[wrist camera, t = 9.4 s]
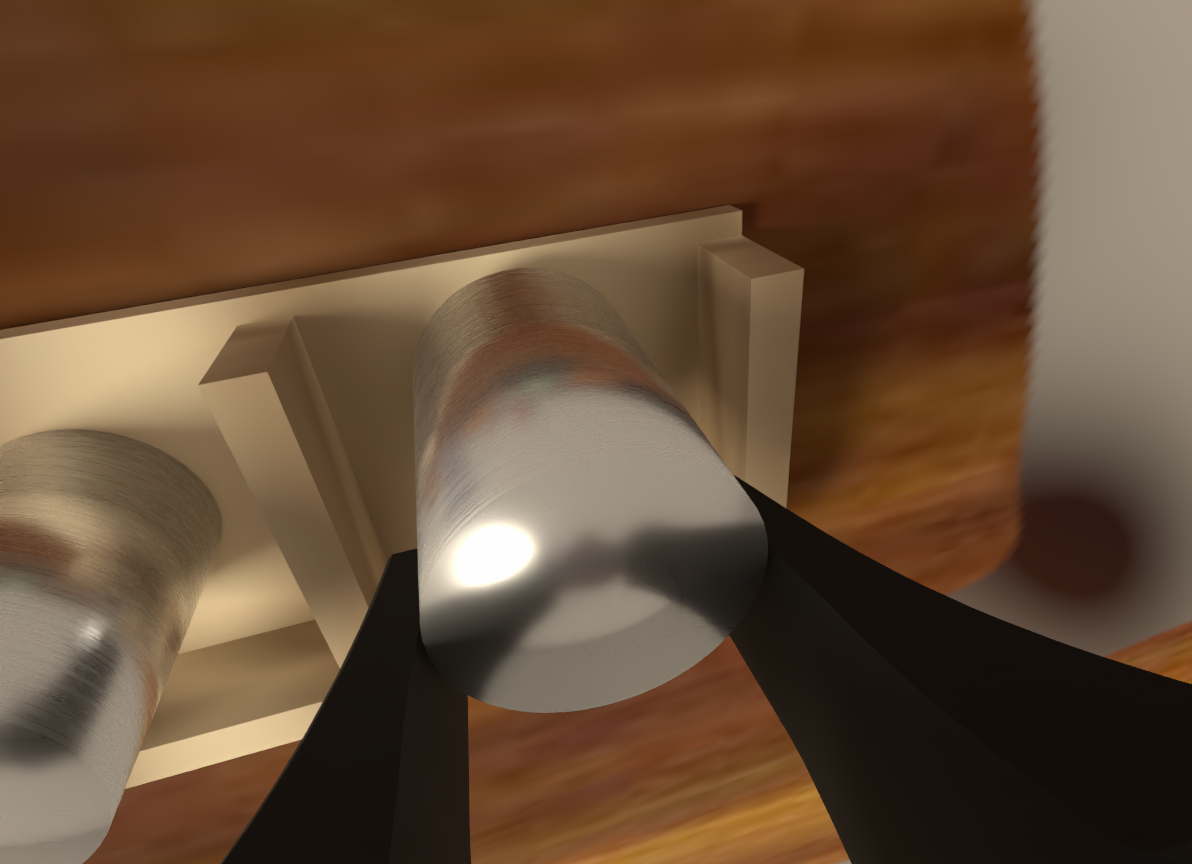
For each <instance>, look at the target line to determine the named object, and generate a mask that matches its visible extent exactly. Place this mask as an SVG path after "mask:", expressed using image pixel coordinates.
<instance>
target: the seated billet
mask: <svg viewBox="0 0 1192 864" xmlns="http://www.w3.org/2000/svg"><path fill="white" fill-rule="evenodd" d="M222 535H223V524H222V517H221V513H220V509H219V507H218V505H217V503H216V500H215V498H214V497H213V495H212V493H211V492H210V490H209V489H208V487H207V486H206V485H205V484H204V483H203V482H202V480H201V479H200V478H199V477H198V476H197V475H196V474H195V473H194V472H193V471H191V470H190V469H189V468H188V467H187V466H185V465H184V464H183V463H181V462H180V461H178V460H177V459H176V458H174V457H172V456H170V455H169V454H167V453H165V452H163V451H162V450H160V449H157V448H155V447H153V446H151V445H148V444H146V443H144V442H141V441H138V440H135V439H132V438H129V437H125V436H121V435H117V434H113V433H107V432H100V431H94V430H78V429H68V430H52V431H45V432H38V433H34V434H30V435H26V436H22V437H19V438H17V439H14V440H12V441H9V442H6V443H5V444H3V445H1V446H0V864H82V863H83V862H85V861H86V860H87V859H88V858H89V857H90V856H91V855H92V854H93V853H94V852H95V851H96V850H97V848H98V847H99V846H100V845H101V843H102V841H103V840H104V838H105V836H106V834H107V832H108V830H109V828H110V825H111V822H112V820H113V817H114V815H115V812H116V810H117V807H118V805H119V802H120V800H121V797H122V795H123V792H124V790H125V787H126V784H127V782H128V779H129V777H130V774H131V772H132V769H133V767H134V764H135V762H136V759H137V757H138V754H139V752H140V749H141V746H142V744H143V741H144V739H145V736H146V734H147V731H148V729H149V726H150V724H151V721H152V719H153V716H154V713H155V711H156V708H157V706H158V703H159V701H160V698H161V696H162V693H163V691H164V688H165V686H166V683H167V681H168V678H169V675H170V673H171V670H172V668H173V665H174V663H175V660H176V658H177V655H178V653H179V650H180V648H181V645H182V643H183V640H184V637H185V635H186V632H187V630H188V627H189V625H190V622H191V620H192V617H193V615H194V612H195V610H196V607H197V605H198V602H199V599H200V597H201V594H202V592H203V589H204V587H205V584H206V582H207V579H208V577H209V574H210V572H211V569H212V567H213V564H214V561H215V559H216V556H217V554H218V551H219V548H220V545H221V542H222Z"/></svg>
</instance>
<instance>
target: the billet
mask: <svg viewBox="0 0 1192 864" xmlns="http://www.w3.org/2000/svg"><path fill="white" fill-rule="evenodd" d="M412 377H413V411H414V446H415V480H416V514H417V549H418V583H419V618H420V629H421V636H422V641H423V644H424V647H425V649H426V652H427V655H428V656H429V658H430V660H431V661H432V663H433V664H434V666H435V668H436V669H437V670H438V671H439V672H440V673H441V675H442V676H443V677H444V678H445V679H446V680H447V681H448V682H450V683H451V684H452V685H454V686H455V687H456V688H457V689H459V690H460V691H462V692H464V693H466V694H467V695H469V696H471V697H473V698H475V699H477V700H480V701H483V702H485V703H488V704H490V705H494V706H498V707H502V708H506V709H511V710H518V711H525V712H541V713H551V712H569V711H577V710H585V709H590V708H595V707H600V706H604V705H608V704H611V703H615V702H619V701H622V700H625V699H628V698H631V697H633V696H636V695H639V694H642V693H644V692H646V691H648V690H651V689H653V688H655V687H657V686H660V685H662V684H663V683H665V682H667V681H669V680H671V679H673V678H675V677H676V676H678V675H680V674H681V673H683V672H684V671H686V670H688V669H689V668H691V667H692V666H694V665H695V664H696V663H698V662H699V661H700V660H702V659H703V658H704V657H706V656H707V655H708V654H710V653H711V652H712V651H713V650H714V649H715V648H716V647H717V646H718V645H720V644H721V643H722V642H723V641H724V640H725V639H726V638H727V637H728V636H729V634H730V633H731V632H732V631H733V630H734V629H735V628H736V627H737V625H738V624H739V623H740V621H741V620H742V619H743V617H744V616H745V615H746V613H747V612H748V610H749V608H750V607H751V605H752V603H753V602H754V600H755V598H756V596H757V594H758V591H759V589H760V587H761V585H762V582H763V578H764V575H765V571H766V567H767V558H768V540H767V534H766V530H765V526H764V522H763V520H762V518H761V516H760V514H759V511H758V509H757V508H756V506H755V505H754V503H753V502H752V501H751V499H750V498H749V496H748V495H747V494H746V492H745V491H744V489H743V488H742V487H741V485H740V484H739V482H738V481H737V479H736V478H735V477H734V475H733V474H732V472H731V471H730V470H729V468H728V467H727V465H726V464H725V463H724V461H723V460H722V458H721V457H720V456H719V454H718V453H717V451H716V450H715V449H714V447H713V446H712V444H711V443H710V442H709V440H708V439H707V437H706V436H705V435H704V433H703V432H702V430H701V429H700V428H699V426H698V425H697V423H696V422H695V421H694V419H693V418H692V416H691V415H690V414H689V412H688V411H687V409H686V408H685V407H684V405H683V404H682V402H681V401H680V400H679V398H678V397H677V395H676V394H675V392H674V391H673V390H672V388H671V387H670V385H669V384H668V383H667V381H666V380H665V378H664V377H663V376H662V374H661V373H660V371H659V370H658V369H657V367H656V366H655V364H654V363H653V362H652V360H651V359H650V357H649V356H648V355H647V353H646V352H645V350H644V349H643V348H642V346H641V345H640V343H639V342H638V341H637V339H636V338H635V336H634V335H633V334H632V332H631V331H630V329H629V328H628V327H627V325H626V324H625V322H624V321H623V320H622V318H621V317H620V315H619V314H618V313H617V311H616V310H615V308H614V307H613V306H612V304H611V303H610V302H609V301H608V300H607V299H606V298H605V297H604V296H603V295H602V294H601V293H600V292H598V291H597V290H596V289H594V288H593V287H592V286H591V285H589V284H587V283H585V282H583V281H582V280H580V279H578V278H576V277H573V276H570V275H568V274H565V273H562V272H558V271H553V270H549V269H539V268H517V269H511V270H505V271H500V272H497V273H493V274H490V275H487V276H484V277H482V278H480V279H478V280H475V281H473V282H471V283H469V284H468V285H466V286H464V287H463V288H461V289H460V290H458V291H457V292H456V293H454V294H453V295H452V296H451V297H449V298H448V299H447V300H446V301H445V302H444V303H443V304H442V305H441V306H440V307H439V308H438V309H437V310H436V311H435V313H434V314H433V315H432V317H431V318H430V320H429V321H428V322H427V324H426V326H425V328H424V330H423V332H422V334H421V336H420V338H419V341H418V344H417V347H416V350H415V355H414V360H413V376H412Z"/></svg>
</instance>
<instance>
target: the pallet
mask: <svg viewBox="0 0 1192 864" xmlns="http://www.w3.org/2000/svg"><path fill="white" fill-rule="evenodd" d="M517 268H539V269H549V270H553V271H558V272H562V273H565V274H568V275H570V276H573V277H576V278H578V279H580V280H582V281H583V282H585V283H587V284H589V285H591V286H592V287H593V288H594V289H596V290H597V291H598V292H600V293H601V294H602V295H603V296H604V297H605V298H606V299H607V300H608V301H609V302H610V303H611V304H612V306H613V307H614V308H615V310H616V311H617V313H618V314H619V315H620V317H621V318H622V320H623V321H624V322H625V324H626V325H627V327H628V328H629V329H630V331H631V332H632V334H633V335H634V336H635V338H636V339H637V341H638V342H639V343H640V345H641V346H642V348H643V349H644V350H645V352H646V353H647V355H648V356H649V357H650V359H651V360H652V362H653V363H654V364H655V366H656V367H657V369H658V370H659V371H660V373H661V374H662V376H663V377H664V378H665V380H666V381H667V383H668V384H669V385H670V387H671V388H672V390H673V391H674V392H675V394H676V395H677V397H678V398H679V400H680V401H681V402H682V404H683V405H684V407H685V408H686V409H687V411H688V412H689V414H690V415H691V416H692V418H693V419H694V421H695V422H696V423H697V425H698V426H699V428H700V429H701V430H702V432H703V433H704V435H705V436H706V437H707V439H708V440H709V442H710V443H711V444H712V446H713V447H714V449H715V450H716V451H717V453H718V454H719V456H720V457H721V458H722V460H723V461H724V463H725V464H726V465H727V467H728V468H729V470H730V471H731V472H732V474H733V475H735V476H737V477H738V478H740V479H741V480H743V481H744V482H746V483H748V484H749V485H751V486H752V487H754V488H755V489H757V490H758V491H760V492H761V493H763V494H765V495H766V496H768V497H769V498H771V499H772V500H774V501H775V502H777V503H779V504H780V505H782V506H783V507H785V508H786V505H787V491H788V478H789V465H790V452H791V438H792V425H793V412H794V398H795V385H796V372H797V359H798V345H799V332H800V319H801V306H802V292H803V279H804V268H802V267H800V266H798V265H796V264H795V263H793V262H791V261H789V260H787V259H785V258H783V257H781V256H780V255H778V254H776V253H774V252H772V251H770V250H768V249H766V248H765V247H763V246H761V245H759V244H757V243H755V242H753V241H752V240H750V239H748V238H746V237H744V236H742V210H740V209H738V208H736V207H733V206H731V205H726V206H720V207H715V208H709V209H703V210H697V211H691V212H685V213H680V214H674V215H668V216H662V217H656V218H650V219H645V220H639V221H633V222H627V223H621V224H615V225H610V226H604V227H598V228H592V229H586V230H580V231H575V232H569V233H563V234H557V235H551V236H545V237H540V238H534V239H528V240H522V241H516V242H510V243H505V244H499V245H493V246H487V247H481V248H475V249H470V250H464V251H458V252H452V253H446V254H440V255H434V256H429V257H423V258H417V259H411V260H405V261H399V262H394V263H388V264H382V265H376V266H370V267H364V268H359V269H353V270H347V271H341V272H335V273H329V274H324V275H318V276H312V277H306V278H300V279H294V280H289V281H283V282H277V283H271V284H265V285H259V286H254V287H248V288H242V289H236V290H230V291H224V292H219V293H213V294H207V295H201V296H195V297H189V298H184V299H178V300H172V301H166V302H160V303H154V304H149V305H143V306H137V307H131V308H125V309H119V310H114V311H108V312H102V313H96V314H90V315H84V316H79V317H73V318H67V319H61V320H55V321H49V322H44V323H38V324H32V325H26V326H20V327H14V328H9V329H3V330H0V446H1V445H3V444H5V443H6V442H9V441H12V440H14V439H17V438H19V437H22V436H26V435H30V434H34V433H38V432H45V431H52V430H68V429H78V430H94V431H100V432H107V433H113V434H117V435H121V436H125V437H129V438H132V439H135V440H138V441H141V442H144V443H146V444H148V445H151V446H153V447H155V448H157V449H160V450H162V451H163V452H165V453H167V454H169V455H170V456H172V457H174V458H176V459H177V460H178V461H180V462H181V463H183V464H184V465H185V466H187V467H188V468H189V469H190V470H191V471H193V472H194V473H195V474H196V475H197V476H198V477H199V478H200V479H201V480H202V482H203V483H204V484H205V485H206V486H207V487H208V489H209V490H210V492H211V493H212V495H213V497H214V498H215V500H216V503H217V505H218V507H219V509H220V513H221V517H222V524H223V535H222V542H221V545H220V548H219V551H218V554H217V556H216V559H215V561H214V564H213V567H212V569H211V572H210V574H209V577H208V579H207V582H206V584H205V587H204V589H203V592H202V594H201V597H200V599H199V602H198V605H197V607H196V610H195V612H194V615H193V617H192V620H191V622H190V625H189V627H188V630H187V632H186V635H185V637H184V640H183V643H182V645H181V648H180V650H179V653H178V655H177V658H176V660H175V663H174V665H173V668H172V670H171V673H170V675H169V678H168V681H167V683H166V686H165V688H164V691H163V693H162V696H161V698H160V701H159V703H158V706H157V708H156V711H155V713H154V716H153V719H152V721H151V724H150V726H149V729H148V731H147V734H146V736H145V739H144V741H143V744H142V746H141V749H140V752H139V754H138V757H137V759H136V762H135V764H134V767H133V769H132V772H131V774H130V777H129V779H128V782H127V784H126V787H125V789H127V788H130V787H134V786H137V785H141V784H144V783H148V782H151V781H155V780H159V779H162V778H166V777H169V776H173V775H176V774H180V773H183V772H187V771H191V770H194V769H198V768H201V767H205V766H208V765H212V764H216V763H219V762H223V761H226V760H230V759H233V758H237V757H240V756H244V755H248V754H251V753H255V752H258V751H262V750H265V749H269V748H273V747H276V746H280V745H283V744H287V743H290V742H294V741H297V740H301V739H303V737H304V735H305V733H306V732H307V730H308V728H309V726H310V724H311V722H312V721H313V719H314V717H315V715H316V713H317V711H318V710H319V708H320V706H321V704H322V702H323V700H324V699H325V697H326V695H327V693H328V691H329V689H330V688H331V686H332V684H333V682H334V680H335V678H336V676H337V674H338V672H339V670H340V668H341V666H342V664H343V662H344V660H345V658H346V656H347V654H348V652H349V649H350V647H351V645H352V643H353V641H354V639H355V637H356V635H357V633H358V631H359V629H360V626H361V624H362V622H363V619H364V617H365V615H366V613H367V610H368V608H369V606H370V603H371V601H372V599H373V596H374V594H375V591H376V589H377V587H378V584H379V581H380V579H381V576H382V574H383V571H384V569H385V566H386V563H387V561H388V560H389V558H390V557H391V556H392V554H395V553H400V552H404V551H408V550H412V549H416V548H417V514H416V480H415V446H414V411H413V377H412V376H413V360H414V355H415V350H416V347H417V344H418V341H419V338H420V336H421V334H422V332H423V330H424V328H425V326H426V324H427V322H428V321H429V320H430V318H431V317H432V315H433V314H434V313H435V311H436V310H437V309H438V308H439V307H440V306H441V305H442V304H443V303H444V302H445V301H446V300H447V299H448V298H449V297H451V296H452V295H453V294H454V293H456V292H457V291H458V290H460V289H461V288H463V287H464V286H466V285H468V284H469V283H471V282H473V281H475V280H478V279H480V278H482V277H484V276H487V275H490V274H493V273H497V272H500V271H505V270H511V269H517Z"/></svg>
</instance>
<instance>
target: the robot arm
mask: <svg viewBox="0 0 1192 864" xmlns="http://www.w3.org/2000/svg"><path fill="white" fill-rule="evenodd" d="M734 477H735V478H736V479H737V481H738V482H739V484H740V485H741V487H742V488H743V489H744V491H745V492H746V494H747V495H748V496H749V498H750V499H751V501H752V502H753V503H754V505H755V506H756V508H757V509H758V511H759V514H760V516H761V518H762V520H763V522H764V526H765V530H766V534H767V540H768V558H767V567H766V571H765V575H764V578H763V582H762V585H761V587H760V589H759V591H758V594H757V596H756V598H755V600H754V602H753V603H752V605H751V607H750V608H749V610H748V612H747V613H746V615H745V616H744V617H743V619H742V620H741V621H740V623H739V624H738V625H737V627H736V628H735V629H734V630H733V631H732V632H731V633H730V634H729V635H730V637H731V638H732V640H733V642H734V643H735V645H736V647H737V649H738V650H739V652H740V654H741V655H742V657H743V659H744V660H745V662H746V664H747V665H748V667H749V669H750V670H751V672H752V674H753V675H754V677H755V679H756V680H757V682H758V684H759V685H760V687H761V689H762V690H763V692H764V694H765V696H766V697H767V699H768V701H769V702H770V704H771V706H772V707H773V709H774V711H775V712H776V714H777V716H778V717H779V719H780V721H781V722H782V724H783V726H784V727H785V729H786V731H787V732H788V734H789V736H790V737H791V739H792V741H793V743H794V745H795V747H796V748H797V750H798V752H799V754H800V756H801V758H802V759H803V761H804V763H805V765H806V767H807V769H808V771H809V774H810V776H811V778H812V780H813V782H814V784H815V786H816V788H817V790H818V792H819V794H820V797H821V799H822V801H823V803H824V805H825V807H826V809H827V811H828V813H829V815H830V817H831V820H832V822H833V824H834V826H835V828H836V830H837V833H838V835H839V837H840V839H841V841H842V843H843V846H844V848H845V850H846V852H847V854H848V857H849V859H850V861H851V863H852V864H1192V684H1189V683H1185V682H1182V681H1178V680H1175V679H1172V678H1168V677H1165V676H1162V675H1158V674H1155V673H1152V672H1149V671H1146V670H1143V669H1139V668H1136V667H1133V666H1130V665H1127V664H1124V663H1120V662H1117V661H1114V660H1111V659H1108V658H1105V657H1101V656H1099V655H1096V654H1092V653H1090V652H1087V651H1084V650H1081V649H1078V648H1075V647H1072V646H1070V645H1067V644H1064V643H1061V642H1058V641H1055V640H1052V639H1050V638H1047V637H1045V636H1042V635H1040V634H1037V633H1034V632H1032V631H1029V630H1026V629H1024V628H1021V627H1019V626H1016V625H1013V624H1011V623H1008V622H1006V621H1003V620H1001V619H998V618H996V617H993V616H991V615H988V614H986V613H984V612H981V611H979V610H976V609H974V608H972V607H969V606H967V605H965V604H963V603H961V602H958V601H956V600H954V599H952V598H949V597H947V596H945V595H943V594H941V593H939V592H936V591H934V590H932V589H930V588H928V587H925V586H923V585H921V584H919V583H917V582H915V581H913V580H911V579H909V578H907V577H905V576H903V575H901V574H899V573H897V572H895V571H893V570H891V569H890V568H888V567H886V566H884V565H882V564H880V563H878V562H876V561H875V560H873V559H871V558H869V557H867V556H865V555H863V554H861V553H860V552H858V551H856V550H854V549H853V548H851V547H849V546H847V545H846V544H844V543H842V542H840V541H839V540H837V539H835V538H834V537H832V536H830V535H828V534H827V533H825V532H823V531H822V530H820V529H818V528H817V527H815V526H814V525H812V524H810V523H809V522H807V521H805V520H804V519H802V518H801V517H799V516H797V515H796V514H794V513H793V512H791V511H789V510H788V509H786V508H785V507H783V506H782V505H780V504H779V503H777V502H775V501H774V500H772V499H771V498H769V497H768V496H766V495H765V494H763V493H761V492H760V491H758V490H757V489H755V488H754V487H752V486H751V485H749V484H748V483H746V482H744V481H743V480H741V479H740V478H738V477H737V476H735V475H734ZM221 864H471V853H470V828H469V755H468V697H467V694H466V693H464V692H462V691H460V690H459V689H457V688H456V687H455V686H454V685H452V684H451V683H450V682H448V681H447V680H446V679H445V678H444V677H443V676H442V675H441V673H440V672H439V671H438V670H437V669H436V668H435V666H434V664H433V663H432V661H431V660H430V658H429V656H428V655H427V652H426V649H425V647H424V644H423V641H422V636H421V629H420V618H419V583H418V549H417V548H416V549H412V550H408V551H404V552H400V553H395V554H392V556H391V557H390V558H389V560H388V561H387V563H386V566H385V569H384V571H383V574H382V576H381V579H380V581H379V584H378V587H377V589H376V591H375V594H374V596H373V599H372V601H371V603H370V606H369V608H368V610H367V613H366V615H365V617H364V619H363V622H362V624H361V626H360V629H359V631H358V633H357V635H356V637H355V639H354V641H353V643H352V645H351V647H350V649H349V652H348V654H347V656H346V658H345V660H344V662H343V664H342V666H341V668H340V670H339V672H338V674H337V676H336V678H335V680H334V682H333V684H332V686H331V688H330V689H329V691H328V693H327V695H326V697H325V699H324V700H323V702H322V704H321V706H320V708H319V710H318V711H317V713H316V715H315V717H314V719H313V721H312V722H311V724H310V726H309V728H308V730H307V732H306V733H305V735H304V737H303V739H302V740H301V742H300V744H299V745H298V747H297V749H296V750H295V752H294V754H293V755H292V757H291V759H290V760H289V762H288V764H287V765H286V767H285V769H284V770H283V772H282V773H281V775H280V777H279V778H278V780H277V781H276V783H275V784H274V786H273V788H272V789H271V791H270V792H269V794H268V795H267V797H266V798H265V800H264V802H263V803H262V805H261V806H260V808H259V809H258V811H257V812H256V814H255V815H254V817H253V818H252V820H251V821H250V822H249V824H248V825H247V827H246V828H245V830H244V831H243V833H242V834H241V835H240V837H239V838H238V840H237V841H236V843H235V844H234V846H233V847H232V848H231V850H230V851H229V853H228V854H227V856H226V857H225V858H224V860H223V861H222V863H221Z"/></svg>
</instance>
